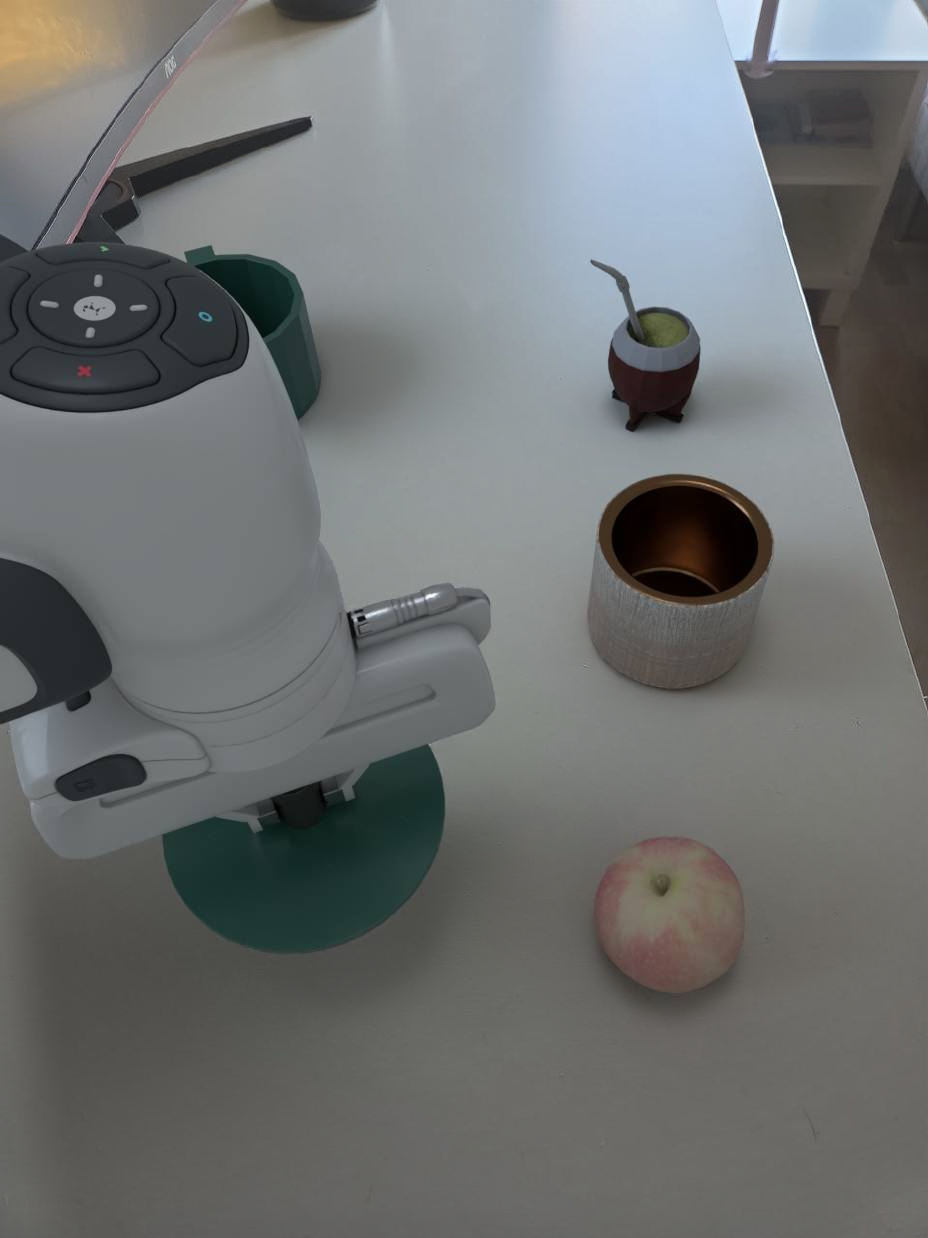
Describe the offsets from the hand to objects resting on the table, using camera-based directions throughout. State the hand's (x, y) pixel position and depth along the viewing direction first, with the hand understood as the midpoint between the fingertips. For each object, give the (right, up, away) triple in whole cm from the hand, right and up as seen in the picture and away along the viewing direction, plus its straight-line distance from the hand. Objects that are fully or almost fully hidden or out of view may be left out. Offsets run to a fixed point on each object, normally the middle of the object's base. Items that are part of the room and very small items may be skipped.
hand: (301, 803), depth 48 cm
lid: (0, -1, +1) cm, 1 cm away
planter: (+22, +9, +18) cm, 30 cm away
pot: (-11, +29, +34) cm, 46 cm away
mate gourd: (+23, +26, +30) cm, 46 cm away
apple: (+19, -9, +6) cm, 22 cm away
